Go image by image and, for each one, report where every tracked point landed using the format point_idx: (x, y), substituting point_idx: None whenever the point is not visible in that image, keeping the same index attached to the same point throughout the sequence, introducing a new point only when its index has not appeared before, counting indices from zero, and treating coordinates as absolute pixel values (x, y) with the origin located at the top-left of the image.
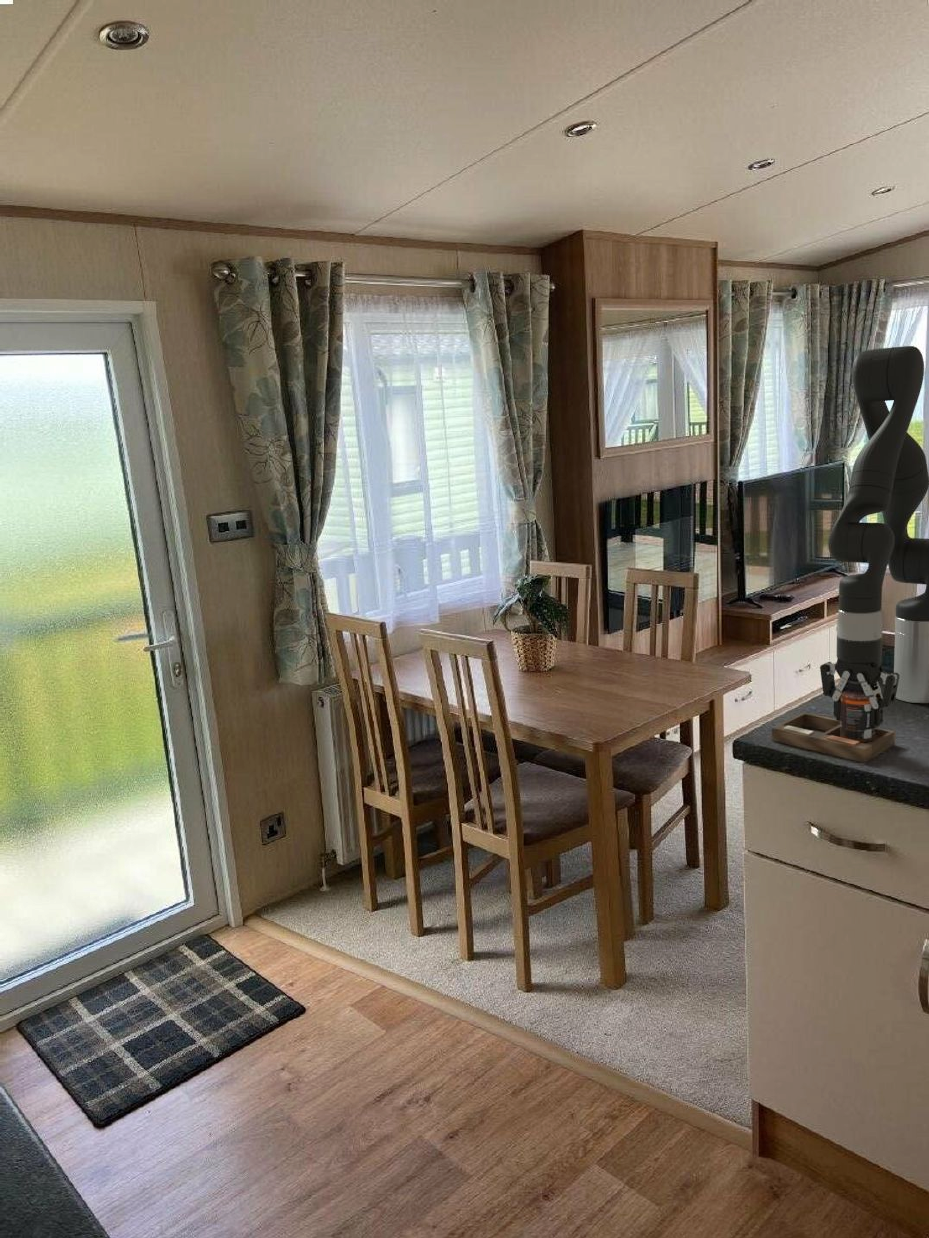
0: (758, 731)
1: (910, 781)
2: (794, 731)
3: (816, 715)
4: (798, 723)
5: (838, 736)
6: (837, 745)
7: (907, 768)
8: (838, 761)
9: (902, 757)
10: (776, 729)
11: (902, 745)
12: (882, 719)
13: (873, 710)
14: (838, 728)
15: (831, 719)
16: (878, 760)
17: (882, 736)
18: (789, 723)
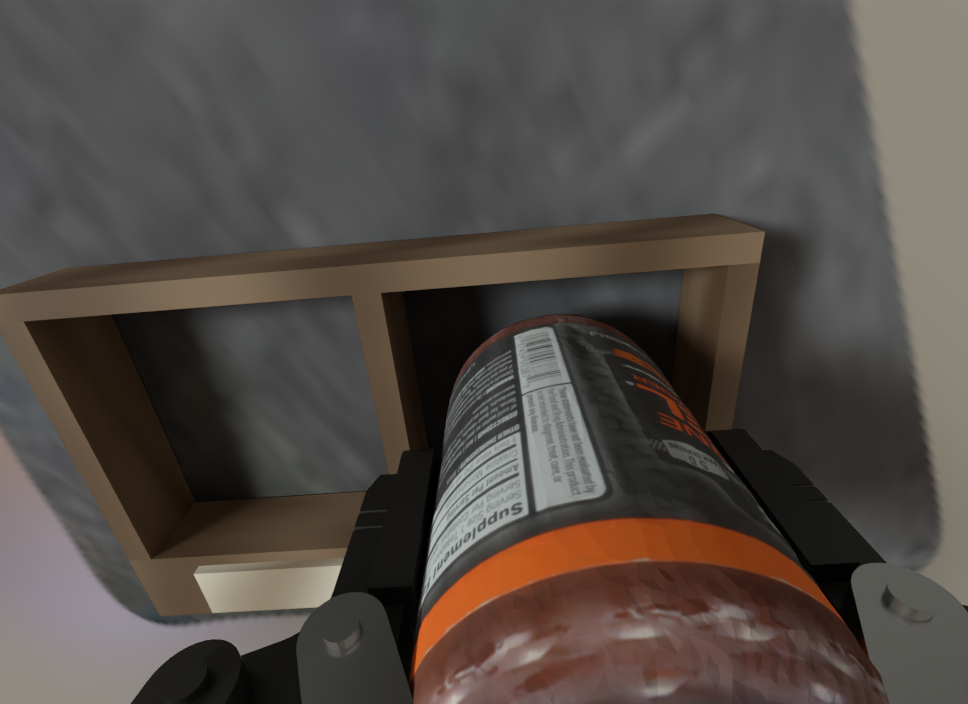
0: (53, 506)
1: (911, 568)
2: (285, 604)
3: (103, 296)
4: (104, 379)
5: (412, 379)
6: None
7: (873, 471)
8: None
9: (816, 368)
10: (191, 611)
11: (763, 190)
12: (804, 486)
13: None
14: (404, 410)
15: (246, 300)
16: None
17: (719, 379)
18: (127, 488)
